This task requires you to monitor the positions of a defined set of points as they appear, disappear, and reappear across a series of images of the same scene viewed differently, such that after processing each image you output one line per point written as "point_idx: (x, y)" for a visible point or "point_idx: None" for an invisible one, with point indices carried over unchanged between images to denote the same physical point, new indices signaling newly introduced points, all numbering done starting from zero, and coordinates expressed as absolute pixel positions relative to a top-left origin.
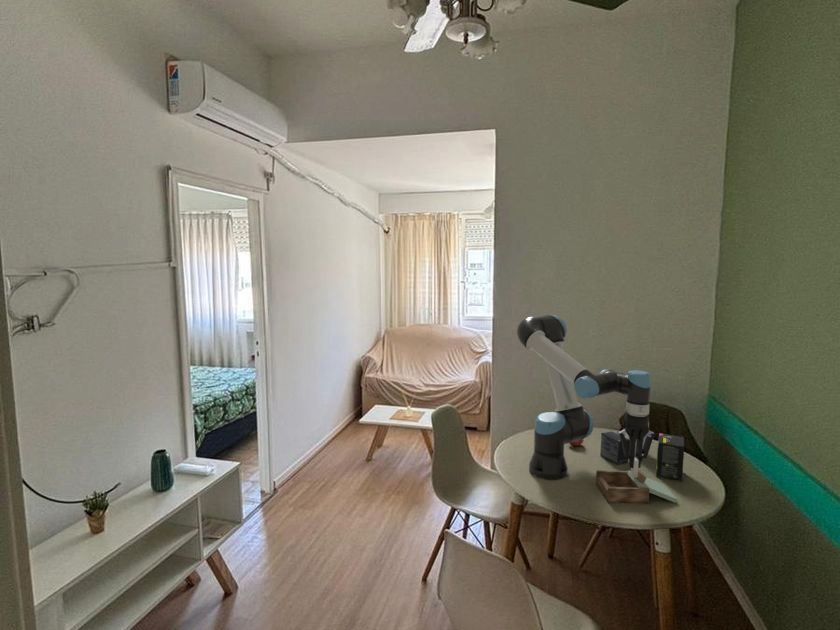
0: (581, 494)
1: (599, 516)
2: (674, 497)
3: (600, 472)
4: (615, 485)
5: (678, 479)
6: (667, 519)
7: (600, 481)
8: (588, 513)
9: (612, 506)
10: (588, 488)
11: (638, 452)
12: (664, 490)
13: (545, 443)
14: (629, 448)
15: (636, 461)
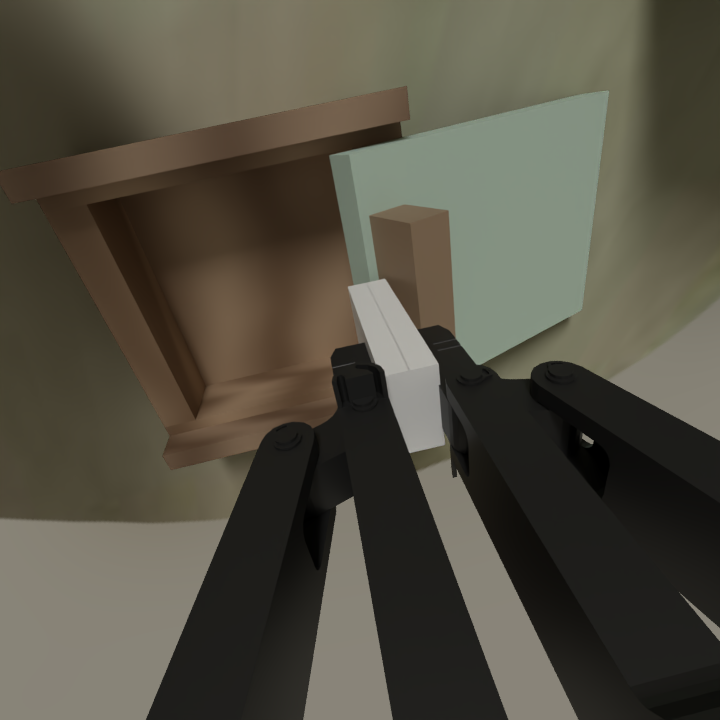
0: (9, 356)
1: (160, 519)
2: (574, 304)
3: (52, 194)
4: (231, 187)
5: None
6: None
7: (95, 292)
8: (105, 515)
9: None
10: (31, 257)
11: (486, 525)
12: (554, 259)
13: None
14: (360, 532)
15: (416, 442)
